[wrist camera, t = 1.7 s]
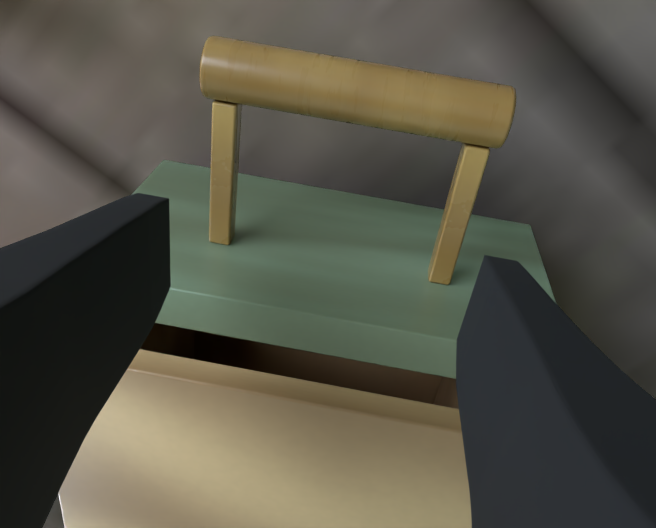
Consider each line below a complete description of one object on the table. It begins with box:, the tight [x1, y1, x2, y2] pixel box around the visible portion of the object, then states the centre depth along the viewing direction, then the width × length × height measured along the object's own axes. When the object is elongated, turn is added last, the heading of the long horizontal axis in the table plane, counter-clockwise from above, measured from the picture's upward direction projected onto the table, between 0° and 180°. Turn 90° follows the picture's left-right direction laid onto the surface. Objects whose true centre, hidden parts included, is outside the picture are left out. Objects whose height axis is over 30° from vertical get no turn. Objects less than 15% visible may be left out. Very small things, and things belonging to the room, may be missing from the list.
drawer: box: [133, 36, 556, 409], centre depth 19 cm, size 18×12×7 cm
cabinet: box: [58, 349, 472, 528], centre depth 22 cm, size 14×14×9 cm
